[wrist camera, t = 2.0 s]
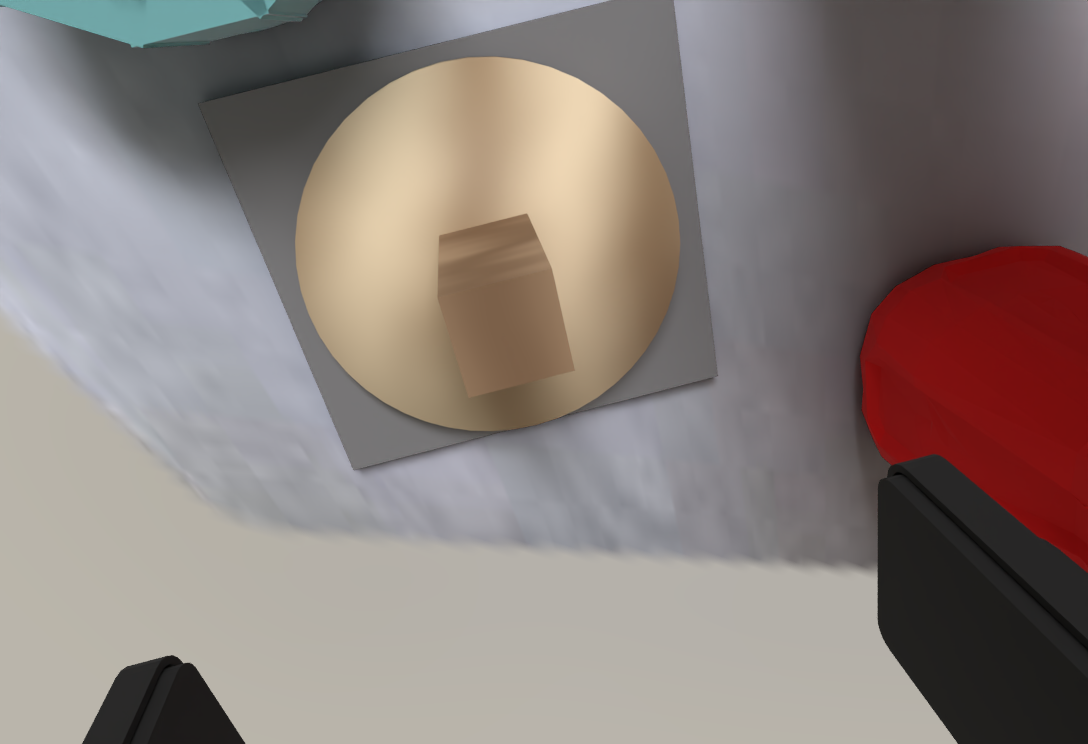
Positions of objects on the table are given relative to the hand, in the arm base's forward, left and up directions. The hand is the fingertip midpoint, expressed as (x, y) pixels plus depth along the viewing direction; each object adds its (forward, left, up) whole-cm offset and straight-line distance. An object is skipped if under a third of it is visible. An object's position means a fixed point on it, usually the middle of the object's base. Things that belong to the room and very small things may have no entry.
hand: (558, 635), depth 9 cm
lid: (0, 0, -17) cm, 17 cm away
